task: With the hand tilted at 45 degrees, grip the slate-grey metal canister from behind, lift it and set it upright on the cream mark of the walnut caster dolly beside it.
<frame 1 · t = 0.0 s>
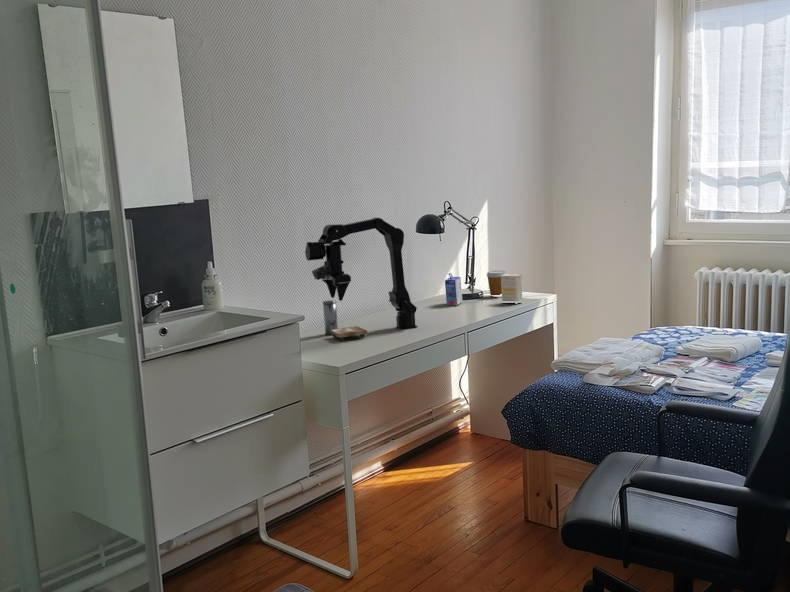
hand: (336, 299, 287), 15 cm above the table, tool pointing down, fingers open, 9 cm apart
ink cartridge box: (454, 304, 348), on the table
disposable coffee cup: (497, 297, 362), on the table
supplement box: (512, 303, 341), on the table
dolly: (348, 333, 286), point 2 cm above the table, slide at 0.0 cm
canister: (331, 334, 296), on the table
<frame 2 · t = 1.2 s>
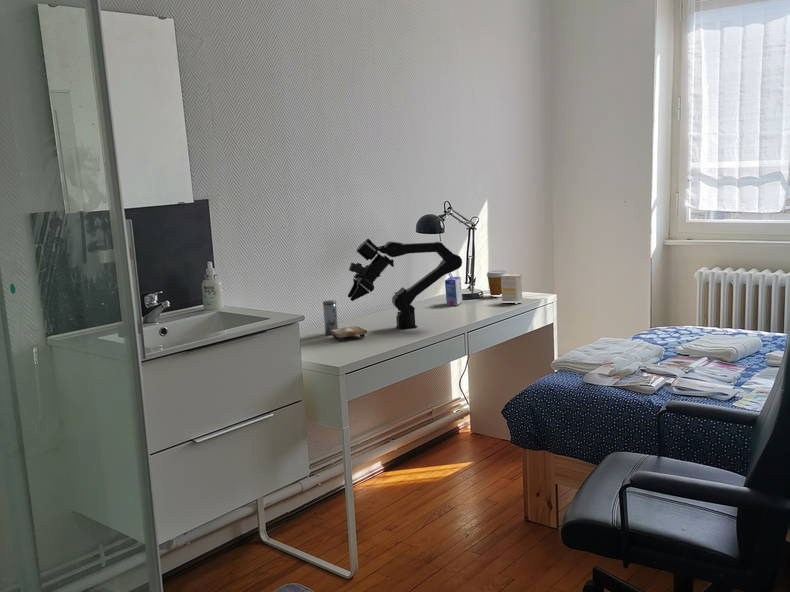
hand: (349, 298, 295), 13 cm above the table, tool tilted 45°, fingers open, 9 cm apart
nothing on the table moved.
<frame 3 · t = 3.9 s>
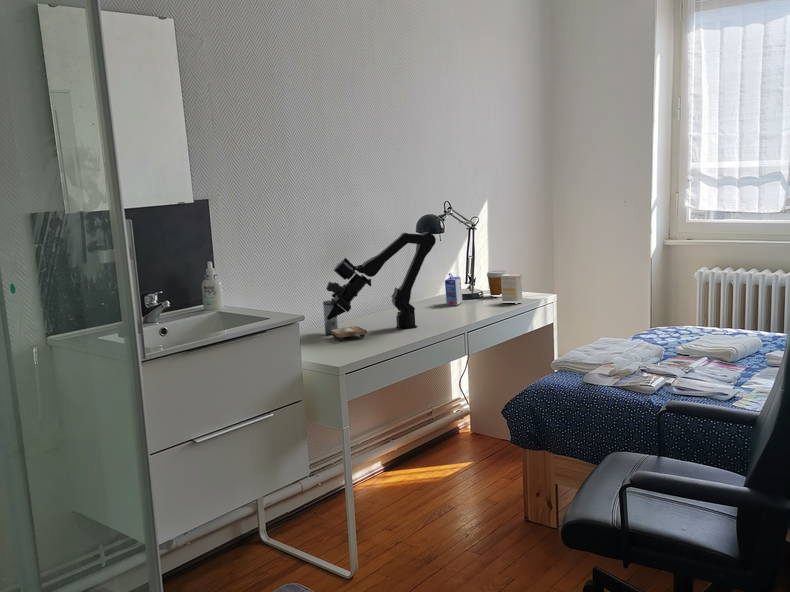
hand: (327, 317, 294), 7 cm above the table, tool tilted 45°, fingers closed on canister, 5 cm apart
canister: (331, 334, 296), on the table, touching gripper
everything else where it was.
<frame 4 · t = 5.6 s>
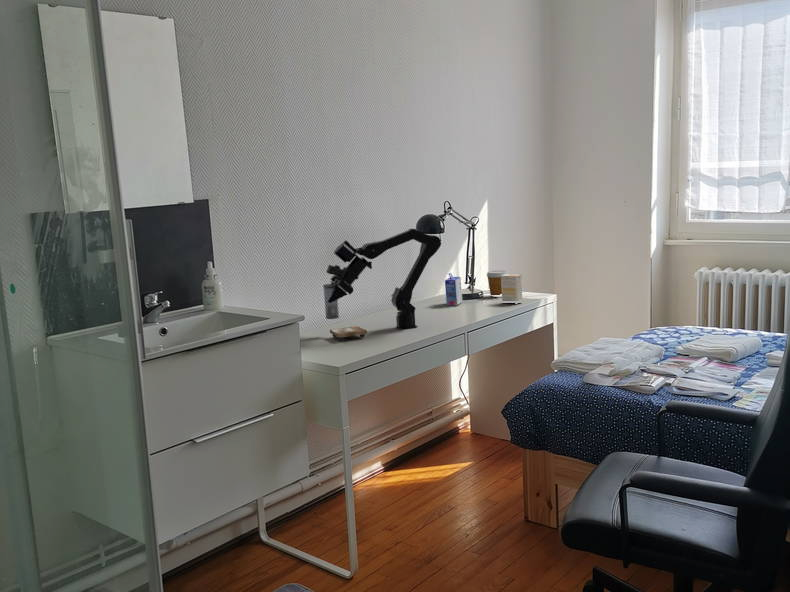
hand: (327, 301, 291), 13 cm above the table, tool tilted 45°, fingers closed on canister, 5 cm apart
canister: (332, 317, 292), point 7 cm above the table, touching gripper
everything else where it was.
when the fingers open (11 cm above the table, at t = 7.1 s): canister drops 1 cm, resting on dolly.
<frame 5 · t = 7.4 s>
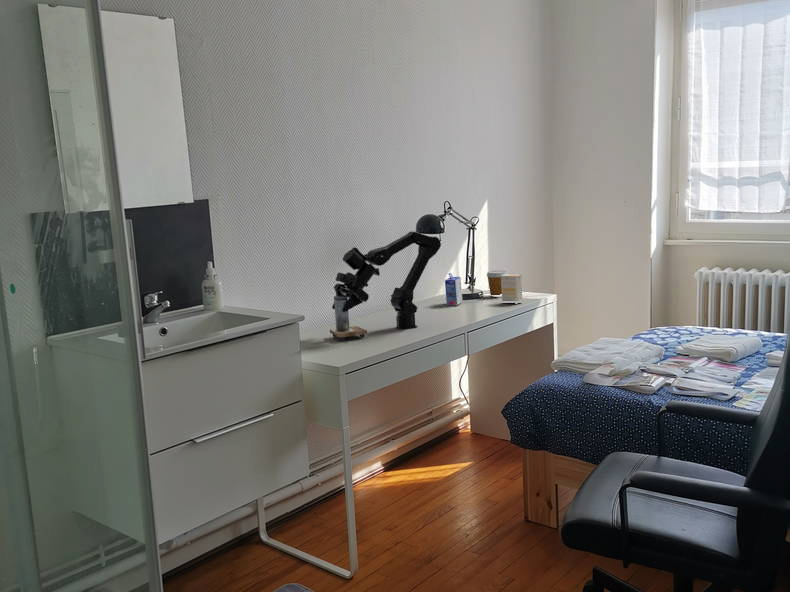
hand: (338, 310, 284), 11 cm above the table, tool tilted 45°, fingers open, 8 cm apart
dolly: (348, 333, 286), point 2 cm above the table, slide at 0.0 cm, touching canister
canister: (342, 330, 286), point 3 cm above the table, touching dolly
everything else where it was.
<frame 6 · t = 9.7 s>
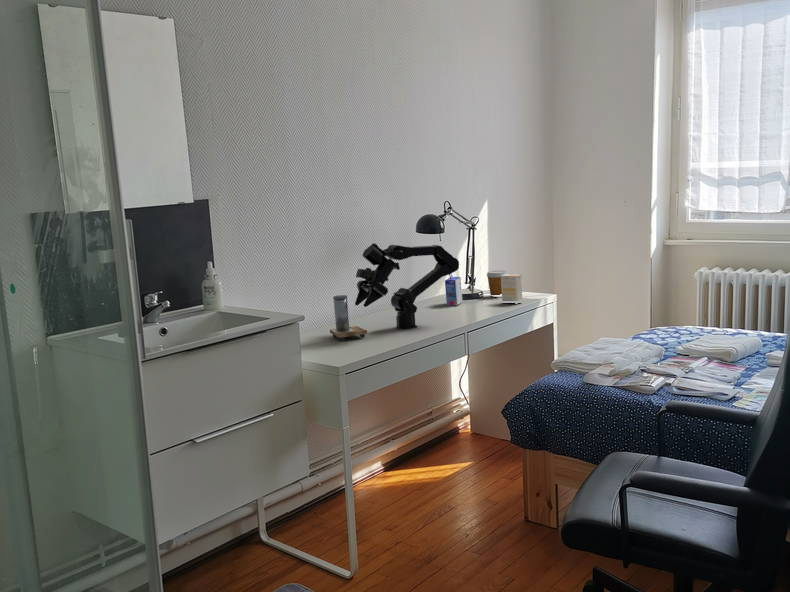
hand: (360, 305, 290), 11 cm above the table, tool tilted 40°, fingers open, 9 cm apart
nothing on the table moved.
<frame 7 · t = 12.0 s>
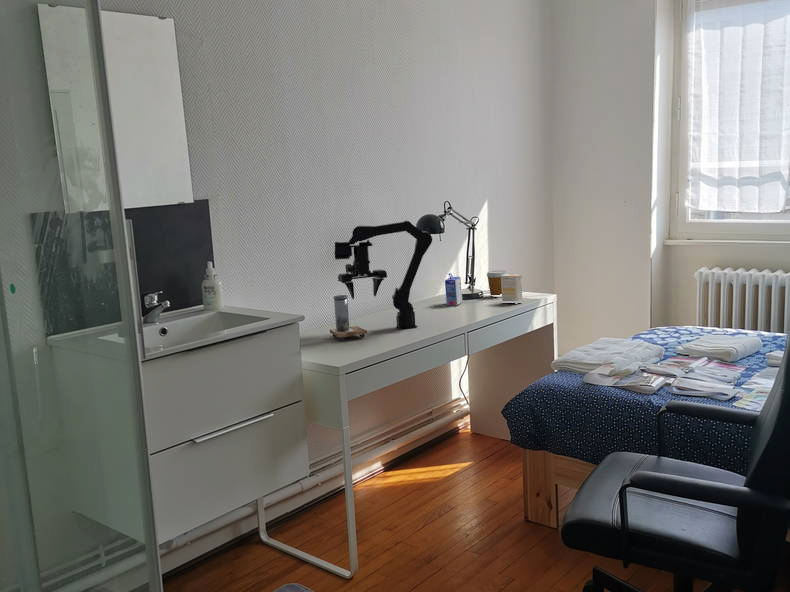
hand: (363, 297, 298), 13 cm above the table, tool pointing down, fingers open, 9 cm apart
nothing on the table moved.
at the end: canister inside the target area on the dolly (2.0 cm from its centre), point 3.2 cm above the dolly's base; canister tilted 2°; the gripper is holding nothing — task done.
